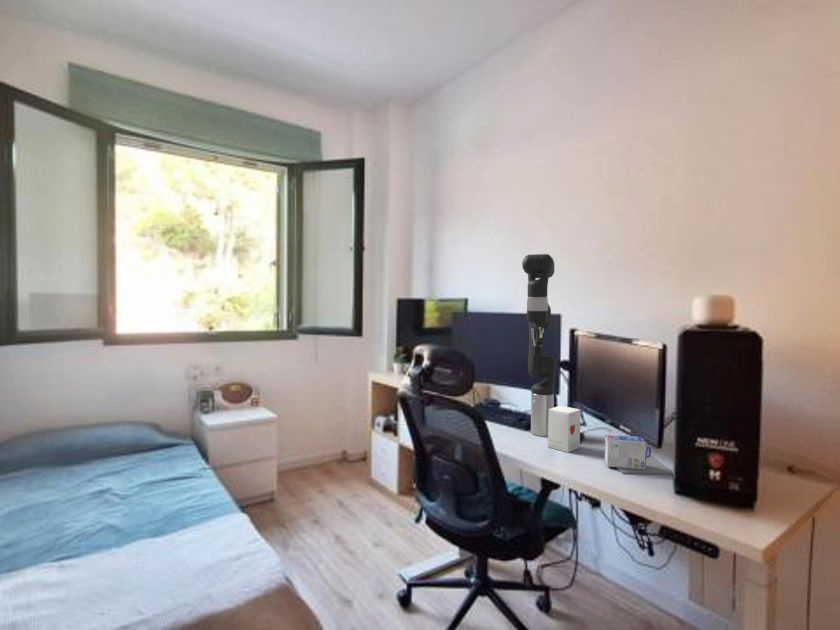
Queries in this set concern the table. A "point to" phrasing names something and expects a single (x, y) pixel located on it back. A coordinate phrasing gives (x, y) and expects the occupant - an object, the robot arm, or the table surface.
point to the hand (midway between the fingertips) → (537, 356)
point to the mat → (648, 468)
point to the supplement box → (564, 428)
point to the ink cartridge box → (626, 451)
